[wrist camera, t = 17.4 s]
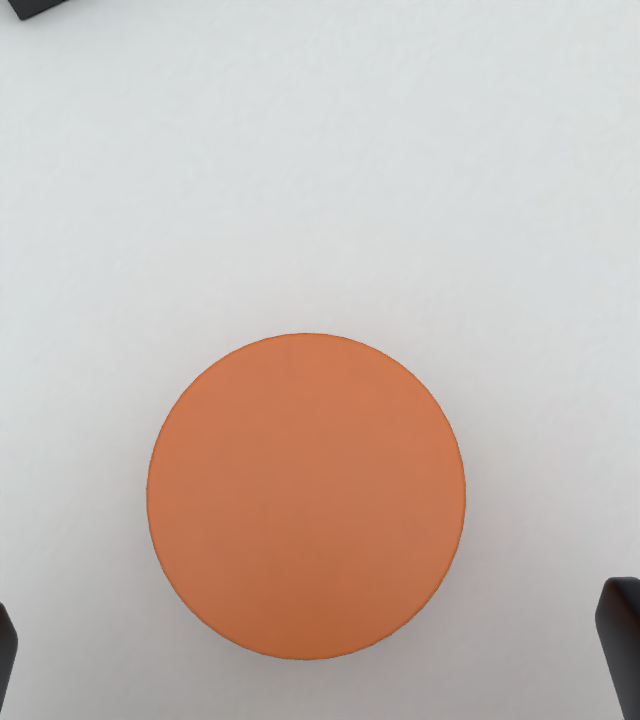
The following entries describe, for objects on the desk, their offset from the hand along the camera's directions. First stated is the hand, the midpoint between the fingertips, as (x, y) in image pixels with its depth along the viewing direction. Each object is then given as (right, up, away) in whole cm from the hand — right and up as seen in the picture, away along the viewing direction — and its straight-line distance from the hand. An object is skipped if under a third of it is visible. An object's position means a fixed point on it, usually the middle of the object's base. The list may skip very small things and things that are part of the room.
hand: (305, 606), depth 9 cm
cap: (0, 0, +7) cm, 7 cm away
